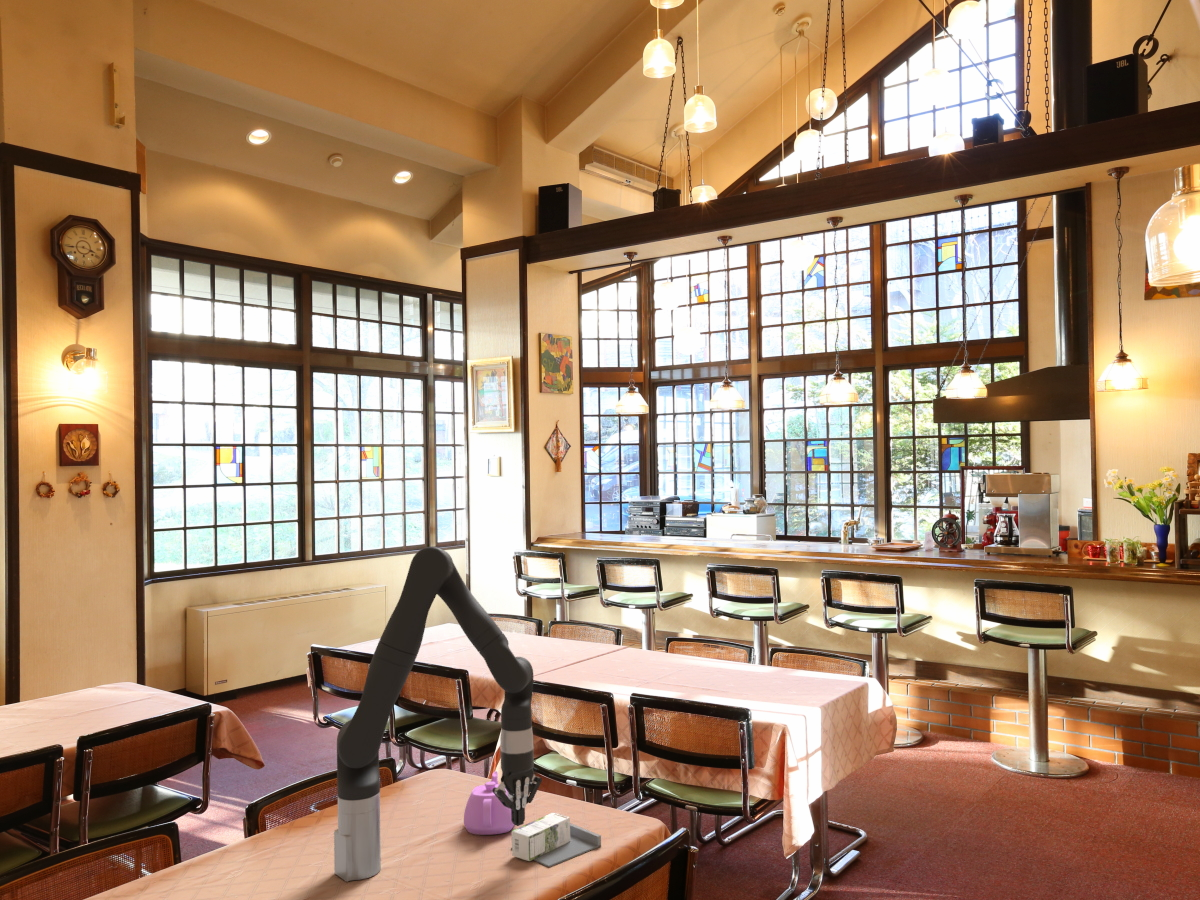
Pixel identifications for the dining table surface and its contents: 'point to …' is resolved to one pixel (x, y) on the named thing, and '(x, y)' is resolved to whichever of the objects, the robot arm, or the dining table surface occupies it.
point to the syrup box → (540, 836)
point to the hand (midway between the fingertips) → (518, 824)
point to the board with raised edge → (571, 846)
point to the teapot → (487, 811)
